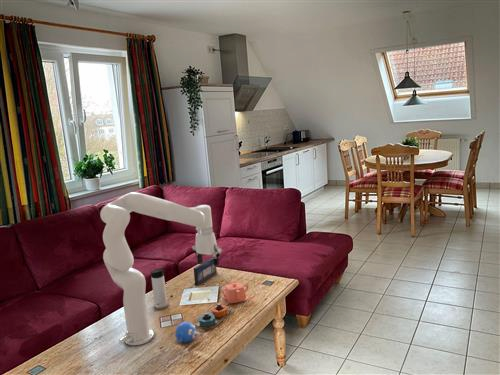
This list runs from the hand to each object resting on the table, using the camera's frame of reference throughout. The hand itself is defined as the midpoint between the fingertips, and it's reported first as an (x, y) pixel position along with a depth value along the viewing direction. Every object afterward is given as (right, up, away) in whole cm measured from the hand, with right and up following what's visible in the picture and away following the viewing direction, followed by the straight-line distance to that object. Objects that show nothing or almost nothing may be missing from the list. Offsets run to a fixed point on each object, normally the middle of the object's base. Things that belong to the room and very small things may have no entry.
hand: (208, 264), depth 207 cm
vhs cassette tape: (-5, -16, +39) cm, 43 cm away
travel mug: (-25, -23, +8) cm, 35 cm away
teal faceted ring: (+1, -24, -14) cm, 28 cm away
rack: (+3, -24, -9) cm, 26 cm away
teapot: (+13, -21, +9) cm, 26 cm away
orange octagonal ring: (+6, -22, -5) cm, 24 cm away
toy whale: (-5, -28, -27) cm, 40 cm away
